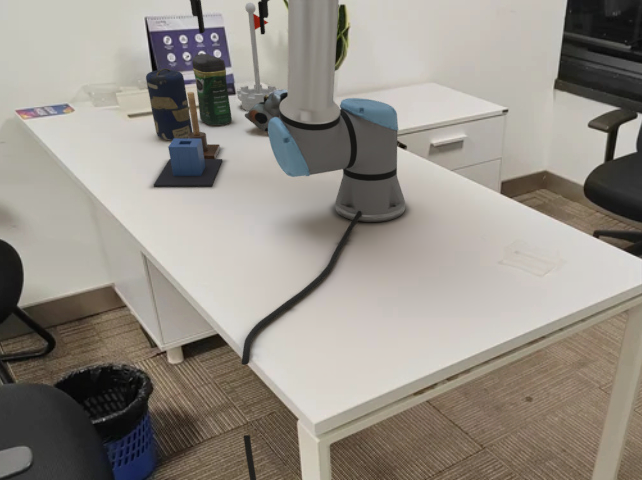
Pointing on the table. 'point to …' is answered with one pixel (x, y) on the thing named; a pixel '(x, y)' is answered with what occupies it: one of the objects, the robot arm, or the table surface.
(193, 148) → the block
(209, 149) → the stand
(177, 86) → the canister
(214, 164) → the mat
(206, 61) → the coffee jar
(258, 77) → the flag stand
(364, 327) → the table surface
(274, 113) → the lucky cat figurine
